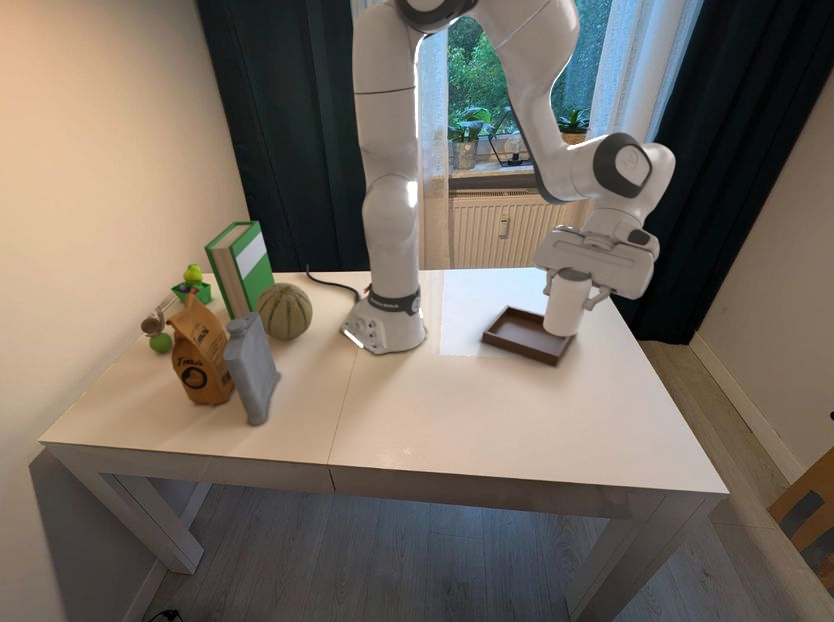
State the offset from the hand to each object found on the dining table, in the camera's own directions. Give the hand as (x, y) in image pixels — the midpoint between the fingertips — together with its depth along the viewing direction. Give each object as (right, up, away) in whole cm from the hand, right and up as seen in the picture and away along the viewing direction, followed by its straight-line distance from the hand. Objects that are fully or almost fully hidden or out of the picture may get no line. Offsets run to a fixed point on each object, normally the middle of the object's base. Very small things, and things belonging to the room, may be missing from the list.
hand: (565, 301), depth 71 cm
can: (+1, -5, +4) cm, 7 cm away
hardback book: (-71, +3, +43) cm, 83 cm away
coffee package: (-73, -18, +17) cm, 77 cm away
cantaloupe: (-59, -5, +31) cm, 67 cm away
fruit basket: (-93, +7, +51) cm, 106 cm away
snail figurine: (-92, -9, +31) cm, 97 cm away
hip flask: (-61, -20, +13) cm, 65 cm away
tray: (+2, -6, +22) cm, 23 cm away
